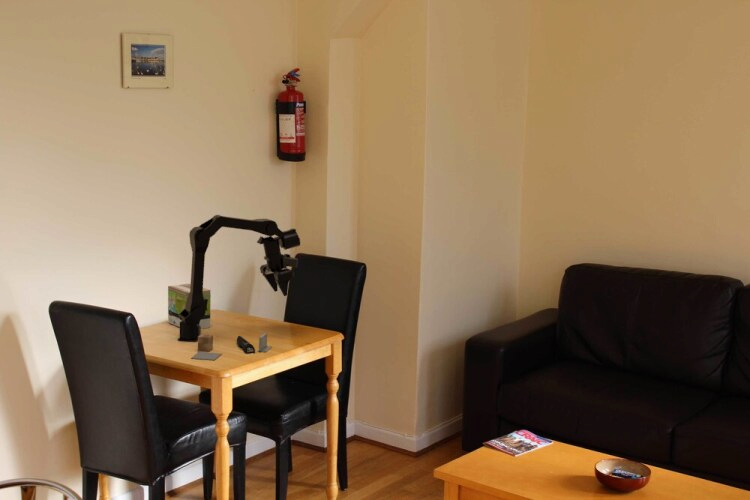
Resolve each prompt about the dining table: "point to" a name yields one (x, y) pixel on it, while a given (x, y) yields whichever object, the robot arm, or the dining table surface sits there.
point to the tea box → (178, 302)
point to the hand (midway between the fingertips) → (280, 293)
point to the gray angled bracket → (263, 343)
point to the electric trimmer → (245, 345)
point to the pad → (206, 356)
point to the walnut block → (205, 343)
